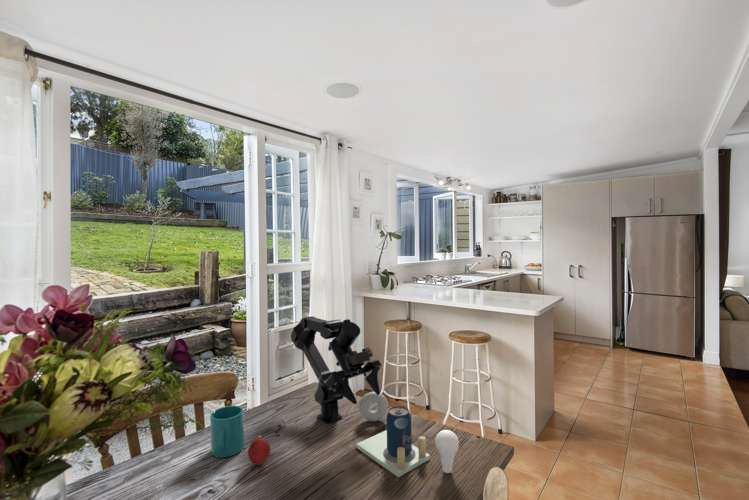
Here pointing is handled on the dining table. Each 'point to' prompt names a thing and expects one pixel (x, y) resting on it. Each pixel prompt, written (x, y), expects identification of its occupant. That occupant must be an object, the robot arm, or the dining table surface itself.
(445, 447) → the lightbulb
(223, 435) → the cup
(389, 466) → the board
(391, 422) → the soda can
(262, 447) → the onion
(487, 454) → the dining table surface
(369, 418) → the donut
